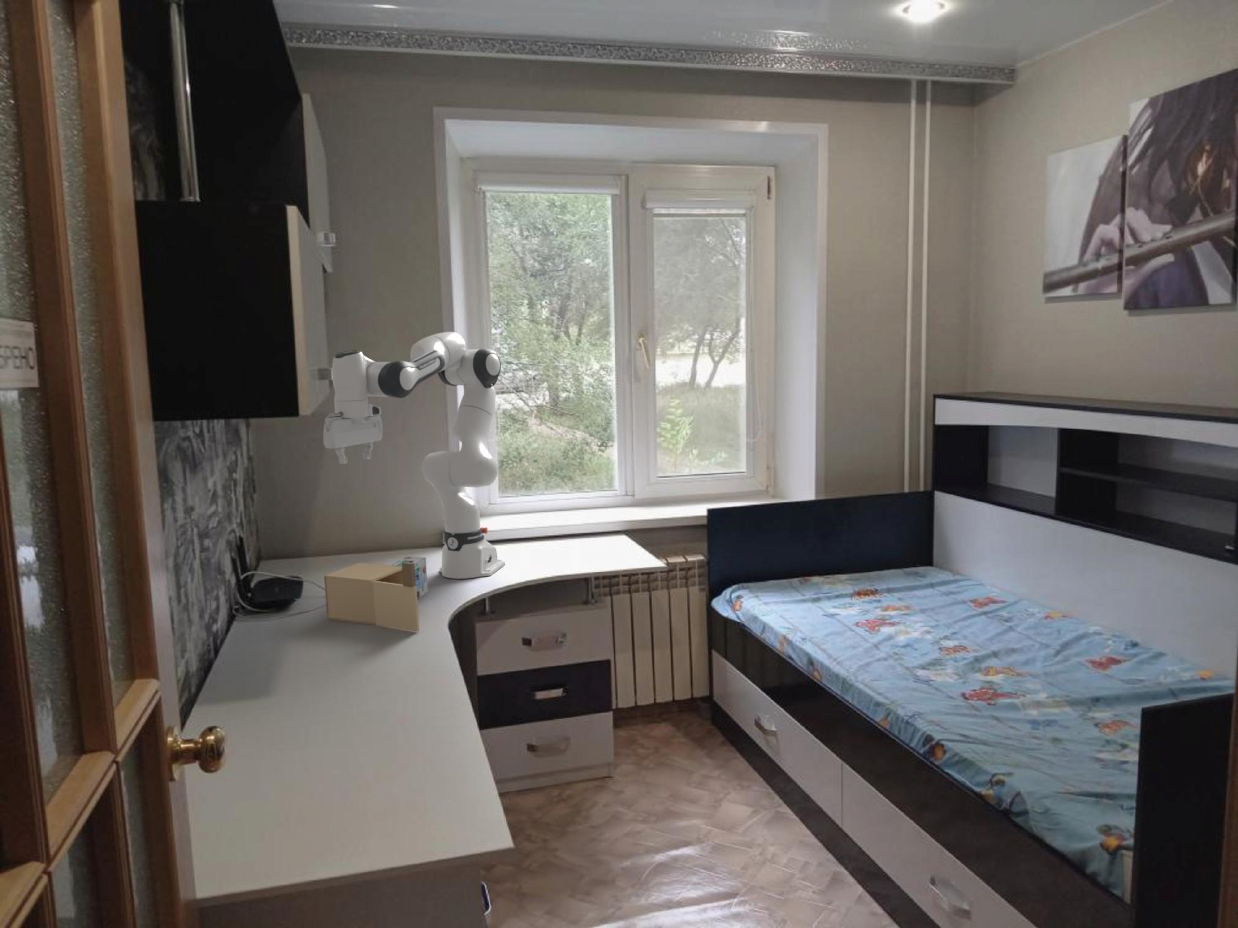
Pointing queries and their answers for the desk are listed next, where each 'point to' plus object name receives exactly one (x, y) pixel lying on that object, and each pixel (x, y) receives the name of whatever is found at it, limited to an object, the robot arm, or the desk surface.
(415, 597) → the side flap
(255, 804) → the desk surface
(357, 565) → the carton
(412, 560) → the light bulb box
